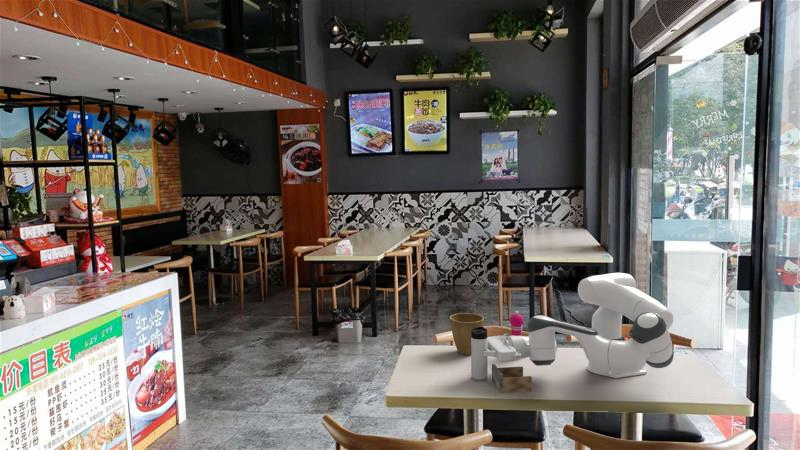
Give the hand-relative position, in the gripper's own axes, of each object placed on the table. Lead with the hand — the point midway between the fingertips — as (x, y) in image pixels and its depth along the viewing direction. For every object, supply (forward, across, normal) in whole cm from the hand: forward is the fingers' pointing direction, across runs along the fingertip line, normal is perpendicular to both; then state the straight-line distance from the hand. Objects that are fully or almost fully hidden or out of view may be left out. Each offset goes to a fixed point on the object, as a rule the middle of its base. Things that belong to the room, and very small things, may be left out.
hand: (479, 349), depth 233 cm
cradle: (-10, -9, -12) cm, 18 cm away
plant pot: (-3, +32, -12) cm, 35 cm away
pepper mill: (-23, +24, -12) cm, 35 cm away
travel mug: (0, +1, -12) cm, 12 cm away
